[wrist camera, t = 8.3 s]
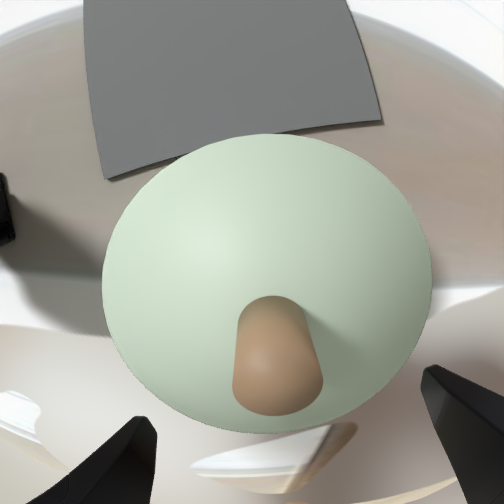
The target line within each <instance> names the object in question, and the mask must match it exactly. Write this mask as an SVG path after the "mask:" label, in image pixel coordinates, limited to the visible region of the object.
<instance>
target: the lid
mask: <svg viewBox="0 0 504 504" xmlns="http://www.w3.org/2000/svg"><path fill="white" fill-rule="evenodd" d="M431 293H432V266H431V259H430V253H429V248H428V245H427V241H426V238H425V235H424V232H423V229H422V227H421V225H420V223H419V220H418V218H417V216H416V214H415V212H414V210H413V209H412V207H411V206H410V204H409V203H408V202H407V200H406V199H405V197H404V196H403V194H402V193H401V192H400V191H399V190H398V189H397V187H396V186H395V185H394V184H393V183H392V182H391V181H390V180H389V179H388V178H387V177H386V176H385V175H384V174H382V173H381V172H380V171H379V170H377V169H376V168H375V167H373V166H372V165H371V164H369V163H368V162H367V161H365V160H364V159H362V158H360V157H358V156H356V155H354V154H352V153H351V152H349V151H347V150H345V149H343V148H340V147H338V146H335V145H332V144H329V143H326V142H323V141H320V140H317V139H312V138H307V137H301V136H296V135H289V134H256V135H248V136H241V137H234V138H230V139H227V140H223V141H219V142H216V143H213V144H209V145H206V146H204V147H202V148H200V149H198V150H195V151H193V152H191V153H189V154H187V155H185V156H183V157H181V158H179V159H178V160H176V161H175V162H173V163H172V164H170V165H169V166H167V167H166V168H164V169H163V170H161V171H160V172H159V173H158V174H157V175H156V176H155V177H153V178H152V179H151V180H150V181H149V182H148V183H147V184H146V185H145V186H144V187H143V188H142V189H141V190H140V191H139V192H138V193H137V195H136V196H135V197H134V198H133V200H132V201H131V202H130V204H129V205H128V206H127V207H126V209H125V211H124V212H123V214H122V216H121V218H120V219H119V221H118V223H117V225H116V227H115V229H114V231H113V234H112V237H111V239H110V242H109V245H108V247H107V251H106V256H105V261H104V265H103V274H102V299H103V309H104V313H105V317H106V322H107V326H108V329H109V331H110V334H111V337H112V339H113V342H114V344H115V346H116V348H117V350H118V352H119V353H120V355H121V357H122V359H123V361H124V362H125V363H126V365H127V366H128V367H129V369H130V370H131V372H132V373H133V374H134V375H135V377H136V378H137V379H138V380H139V381H140V382H141V383H142V384H143V385H144V386H145V387H146V388H147V389H148V390H149V391H150V392H151V393H152V394H154V395H155V396H156V397H157V398H158V399H159V400H161V401H163V402H164V403H165V404H167V405H168V406H170V407H171V408H173V409H174V410H176V411H178V412H180V413H182V414H184V415H185V416H187V417H189V418H192V419H194V420H197V421H199V422H202V423H204V424H207V425H210V426H214V427H217V428H221V429H225V430H230V431H236V432H243V433H255V434H269V433H270V434H273V433H284V432H292V431H297V430H302V429H307V428H311V427H314V426H317V425H320V424H324V423H326V422H329V421H331V420H334V419H336V418H338V417H341V416H343V415H345V414H346V413H348V412H350V411H352V410H354V409H355V408H357V407H359V406H360V405H362V404H363V403H365V402H366V401H367V400H369V399H370V398H372V397H373V396H374V395H375V394H377V393H378V392H379V391H380V390H381V389H382V388H383V387H385V386H386V384H388V383H389V381H390V380H391V379H392V378H393V377H394V376H395V375H396V374H397V373H398V372H399V370H400V369H401V368H402V366H403V365H404V364H405V362H406V361H407V359H408V358H409V356H410V355H411V353H412V351H413V349H414V348H415V346H416V344H417V342H418V340H419V338H420V335H421V333H422V330H423V328H424V325H425V322H426V318H427V315H428V311H429V307H430V300H431Z"/></svg>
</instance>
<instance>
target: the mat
mask: <svg viewBox="0 0 504 504" xmlns="http://www.w3.org/2000/svg"><path fill="white" fill-rule="evenodd" d="M83 14H84V45H85V60H86V72H87V82H88V90H89V98H90V105H91V112H92V119H93V125H94V131H95V137H96V142H97V147H98V152H99V157H100V162H101V167H102V171H103V176H104V180H105V179H109V178H112V177H115V176H117V175H120V174H123V173H126V172H129V171H132V170H135V169H138V168H141V167H144V166H147V165H151V164H154V163H157V162H160V161H164V160H167V159H170V158H174V157H177V156H181V155H185V154H188V153H191V152H193V151H195V150H198V149H200V148H202V147H204V146H206V145H209V144H213V143H216V142H219V141H223V140H227V139H230V138H234V137H241V136H248V135H256V134H276V133H282V132H288V131H294V130H300V129H306V128H313V127H320V126H328V125H336V124H344V123H353V122H364V121H375V120H381V115H380V111H379V106H378V102H377V98H376V94H375V90H374V86H373V82H372V79H371V75H370V72H369V68H368V65H367V61H366V58H365V55H364V52H363V49H362V46H361V43H360V40H359V37H358V34H357V31H356V28H355V26H354V23H353V20H352V18H351V15H350V12H349V10H348V7H347V5H346V3H345V0H84V7H83Z"/></svg>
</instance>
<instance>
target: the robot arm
mask: <svg viewBox="0 0 504 504" xmlns="http://www.w3.org/2000/svg"><path fill="white" fill-rule="evenodd" d="M10 235H11V236H10ZM14 239H15V233H14V229H13V226H12V222H11V218H10V214H9V210H8V205H7V201H6V196H5V191H4V186H3V181H2V175H1V173H0V246H2V245H4V244H6V243H9V242H11V241H13V240H14ZM421 392H422V395H423V398H424V400H425V403H426V406H427V409H428V411H429V414H430V417H431V420H432V423H433V425H434V428H435V430H436V432H437V435H438V437H439V439H440V441H441V443H442V445H443V447H444V449H445V451H446V454H447V456H448V458H449V460H450V462H451V465H452V467H453V469H454V471H455V474H456V476H457V479H458V481H459V483H460V486H461V488H462V491H463V493H464V496H465V498H466V501H467V503H468V504H504V397H503V396H501V395H499V394H497V393H495V392H493V391H491V390H488V389H486V388H484V387H482V386H480V385H478V384H476V383H474V382H472V381H470V380H467V379H466V378H463V377H461V376H459V375H457V374H455V373H453V372H451V371H449V370H447V369H445V368H443V367H441V366H439V365H432V366H429V367H426V368H425V369H424V371H423V376H422V381H421ZM156 448H157V432H156V430H155V428H154V427H153V426H152V424H151V422H150V421H149V420H148V418H147V417H145V416H135V417H133V418H132V419H131V420H130V421H128V422H127V423H126V424H125V425H124V426H123V427H122V428H121V429H120V430H118V431H117V432H116V433H115V434H114V435H113V436H112V437H111V438H110V439H108V440H107V441H106V442H105V443H104V444H103V445H101V446H100V447H99V448H98V449H97V450H96V451H95V452H93V453H92V454H91V455H90V456H89V457H88V458H86V459H85V460H84V461H83V462H82V463H81V464H79V466H77V467H76V468H75V469H74V470H72V471H71V472H70V473H69V475H66V476H65V477H64V478H63V479H62V480H60V481H59V482H58V483H57V484H55V485H54V486H53V487H51V488H50V489H48V490H47V491H46V492H44V493H43V494H41V495H39V496H38V497H36V498H34V499H33V500H31V501H30V502H28V503H26V504H149V503H150V497H151V492H152V486H153V480H154V474H155V462H156V461H155V460H156Z"/></svg>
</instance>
